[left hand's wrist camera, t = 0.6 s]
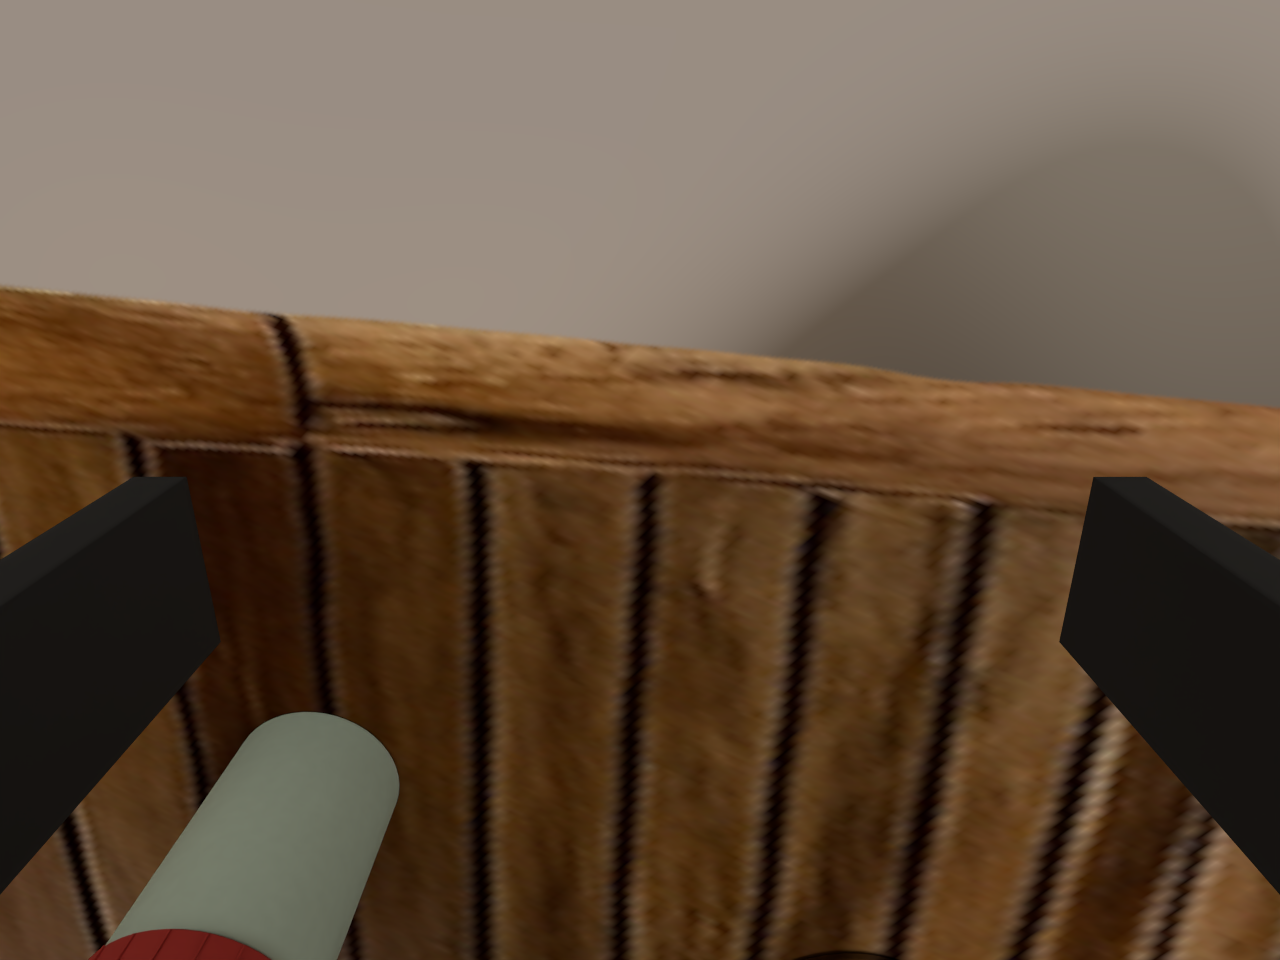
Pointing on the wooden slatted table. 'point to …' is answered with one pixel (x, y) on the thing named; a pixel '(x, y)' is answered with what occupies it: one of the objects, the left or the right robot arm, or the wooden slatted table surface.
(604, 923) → the wooden slatted table surface
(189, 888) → the jar
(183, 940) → the lid
